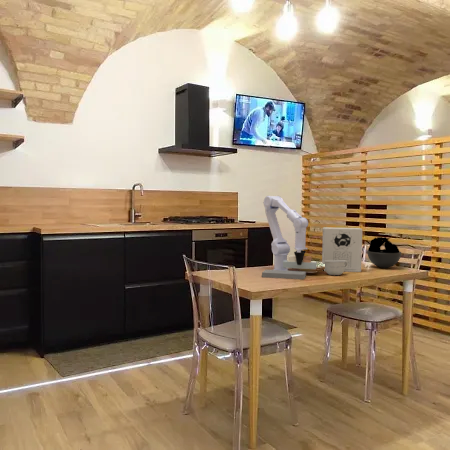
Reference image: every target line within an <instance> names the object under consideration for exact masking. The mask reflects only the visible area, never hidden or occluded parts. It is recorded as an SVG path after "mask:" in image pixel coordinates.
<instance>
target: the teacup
mask: <svg viewBox="0 0 450 450" xmlns="http://www.w3.org/2000/svg"><path fill="white" fill-rule="evenodd" d="M344 262H345V263H346V265H345V266H344ZM347 266H348V262H347V261H345V260H344V261H343V260H326V261H325V271H324V272H326V274H328V275H330V276H339V275H342V274H343V273H344V269H345V268H346V267H347Z"/></svg>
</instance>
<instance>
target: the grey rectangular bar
mask: <svg viewBox="0 0 450 450" xmlns="http://www.w3.org/2000/svg"><path fill="white" fill-rule="evenodd" d="M317 265H318V264H317V261H311V263H308V262H303V261H302V264H301V265H297V261H296V262H288V260H287V261H286V260H284V261H283V268H288V269H303V270H304V269H306V270H308V269H309V270H316V269H317Z"/></svg>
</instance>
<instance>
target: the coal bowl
mask: <svg viewBox="0 0 450 450" xmlns="http://www.w3.org/2000/svg"><path fill="white" fill-rule="evenodd" d="M390 239H391V238H390V237H386V236H384V237H383V236H378V237H374V238H373V239H371V240H370V244H369V246H368V249H367V251H366V254H367V256H368V259H369V261H370V262H371V263H372V264H373V265H374V266H376V267H379V268H382V269H385V268H387V269H389V268H391V267H393V266H395V265H397V264H398V262H399V260H400V259H401V257H402V251H400V249H399V248H398V246H397V244H396V243H395V244H394V243H392V241H390ZM382 246H384V249H381V248H382Z"/></svg>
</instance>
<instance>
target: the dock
mask: <svg viewBox="0 0 450 450" xmlns="http://www.w3.org/2000/svg"><path fill="white" fill-rule="evenodd" d="M306 276H307V271H303V270H299V271H298V270H287V271H285V270H273V269H264V270H263V271H262V272H261V277H262V278H269V279H270V278H271V279H287V280H288V279H289V280H303V279H304V280H305V278H306Z"/></svg>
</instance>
